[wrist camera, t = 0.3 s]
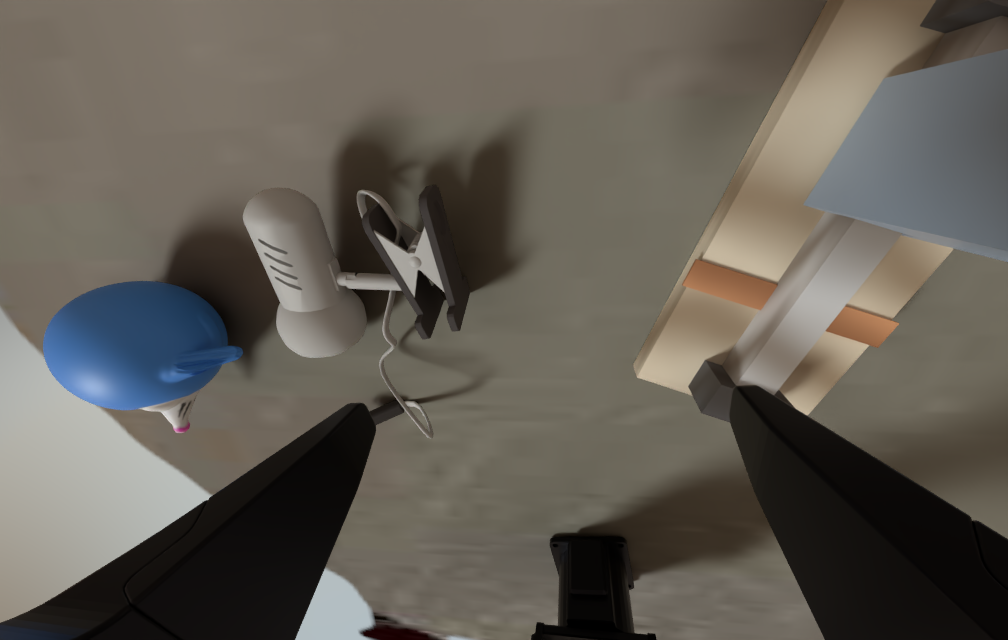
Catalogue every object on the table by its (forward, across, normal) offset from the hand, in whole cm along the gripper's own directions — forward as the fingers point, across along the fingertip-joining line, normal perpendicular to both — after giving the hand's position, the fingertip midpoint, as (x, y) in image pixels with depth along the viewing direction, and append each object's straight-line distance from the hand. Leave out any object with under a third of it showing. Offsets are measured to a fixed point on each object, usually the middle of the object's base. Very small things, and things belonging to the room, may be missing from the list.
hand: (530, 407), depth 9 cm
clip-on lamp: (+14, +12, +4) cm, 19 cm away
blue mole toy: (+14, +28, +4) cm, 31 cm away
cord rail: (+14, -13, +2) cm, 19 cm away
